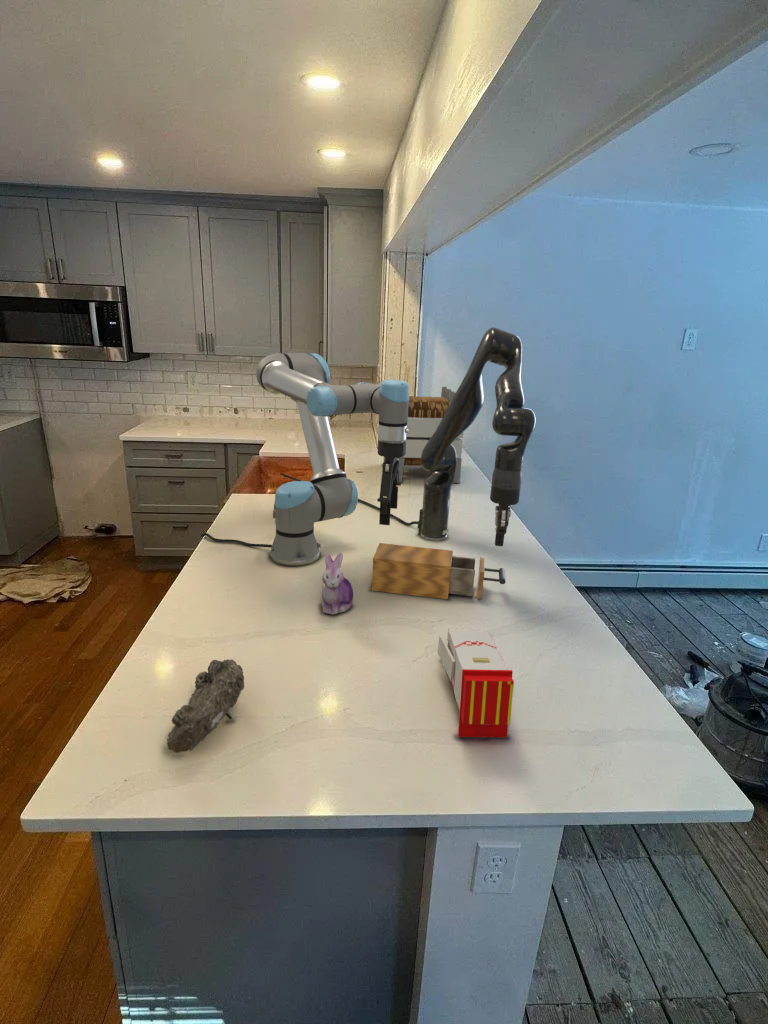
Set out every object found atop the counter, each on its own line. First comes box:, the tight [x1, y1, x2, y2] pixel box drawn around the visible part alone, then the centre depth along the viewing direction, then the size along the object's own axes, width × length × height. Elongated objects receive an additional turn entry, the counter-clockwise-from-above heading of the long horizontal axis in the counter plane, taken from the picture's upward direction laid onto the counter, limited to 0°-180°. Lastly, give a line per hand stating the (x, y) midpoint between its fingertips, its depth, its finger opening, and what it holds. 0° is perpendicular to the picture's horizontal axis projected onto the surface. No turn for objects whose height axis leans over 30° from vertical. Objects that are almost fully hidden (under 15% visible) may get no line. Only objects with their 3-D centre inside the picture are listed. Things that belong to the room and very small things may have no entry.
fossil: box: [166, 658, 245, 754], centre depth 106 cm, size 22×10×15 cm
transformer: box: [383, 386, 464, 484], centre depth 268 cm, size 34×33×41 cm
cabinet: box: [371, 542, 454, 600], centre depth 161 cm, size 21×11×10 cm, turn 81°
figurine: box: [321, 552, 354, 615], centre depth 147 cm, size 9×10×15 cm
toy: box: [437, 628, 515, 738], centre depth 117 cm, size 12×13×30 cm
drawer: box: [449, 555, 506, 600], centre depth 159 cm, size 26×10×8 cm, turn 81°
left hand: (388, 516), depth 157 cm, fingers open, 13 cm apart
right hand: (498, 545), depth 154 cm, fingers closed
